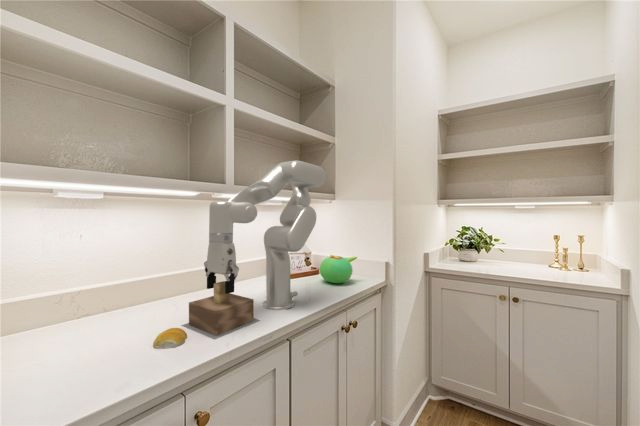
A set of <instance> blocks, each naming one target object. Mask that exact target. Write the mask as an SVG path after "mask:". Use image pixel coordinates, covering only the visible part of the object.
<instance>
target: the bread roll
mask: <svg viewBox="0 0 640 426" xmlns="http://www.w3.org/2000/svg"><path fill="white" fill-rule="evenodd" d="M187 338H188V335H187V332H186V330H184V329H183V328H180V327H171V328H168V329H166V330H164V331H162V332H161V333H159V334H157V336H156V337H155V339H154V340H153V344H152V346H153V348H154V349H156V350H163V349H164V350H165V349H172V348H173V349H174V348H176V347H177V348H178V347H179V346H182V345H183V344H184V343H185V341H186V340H187Z"/></svg>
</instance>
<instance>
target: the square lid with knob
mask: <svg viewBox="0 0 640 426" xmlns="http://www.w3.org/2000/svg"><path fill="white" fill-rule="evenodd" d="M225 281H226V280H222V281H219V282H216V283H214V288H213V295H212V296H207V297H204V298H200V299H197V300H194V301H190V302H189V301H188V323H189V325H190V326H193V327H195V328H198V329H200V330H203V331H205V332H208V333H210V334H212V335H215V336H217V335H220V334H222V333H225V332H227V331H230V330H232V329H235V328H237V327H240V326H242V325H245V324H247V323H250V322H252V321H254V314H255V313H254V304H255V303H254V298H249V297H246V296H241V295H237V294H235V293H228V294H225Z"/></svg>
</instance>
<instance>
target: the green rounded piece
mask: <svg viewBox="0 0 640 426" xmlns="http://www.w3.org/2000/svg"><path fill="white" fill-rule="evenodd" d="M329 255H330V256H328V257H326V258H324V259H323V260H322V261H321V263H320V264H319V273H320V275H321V277H322V278H323V279H324V280H325V281H326V282H328V283H332V284H343V283H346V282H347V281H348V280H349V279H351V277H352V275H353V266H352V264H351V262H353V261H355V260H356V259H358V256H351V257H343V256H338V255H333V254H329Z"/></svg>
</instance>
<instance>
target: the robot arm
mask: <svg viewBox="0 0 640 426" xmlns="http://www.w3.org/2000/svg"><path fill="white" fill-rule="evenodd" d="M326 177H327V176H326V171H325V170H324V169H323V168H322V167H321V166H319V165H316V164H312V163H310V162H305V161H302V160H289V161H283V162H282V161H281V162H279V163H277V164H276V165H275V166H274V167H273V168H271V169H270V170H269V171H268V172H267V173H266V174H265V175H263V176H262V177H261V178H260V179H259V180H258V181H255V182H254V183H252V184H250V185H249V186H247V187H245V188H244V189H242V190H240V191H239V192H237V193H236V194H234V195H233V196H232V197H231V198H229V200H227V201H223V200H222V201H220V200H217V201H212V202H210V204H209V217H208V218H209V219H208V220H209V222H208V224H209V225H208V226H209V227H208V247H207V255H206V257H207V258H206V261H204V262H203V266H204V272H205V277H206V290H211V289H214V283H217V275H216V274H219V275H224V278H225V280H224V281H225V294H228V293H231V294H233V293H234V292H235V281H236V278H237V277H238V274H239V270H240V267H239V266H238V265H237V255H236V254H237V253H236V247H235V243H234V224H250V223H252V222H254V221H255V220H256V218H257V216H258V208H257V207H256V206H255V205H257V204H261V203H265V202H267V201H270V200H272V199H274V198H275V197H276V196H277V195H278V194H279V193H280V192H281V191H282V190H283V189H284V188H285V187H286V186H287V185H288V184H290V185H291V188H292V194H291V197H290V198H289V200H288V202H287V204H286V205H285V207H284V208H283V210H282V211H281V213H280V215H279V223H280V225H274V226H270V227H269V228H267V229H266V231H264V235H263V244H264V245H263V246H264V251H265V257H266V258H265V259H266V260H265V262H266V263H265V264H266V267H265V268H266V273H265V274H266V276H265V278H266V280H265V281H266V283H265V284H266V285H265V287H266V292H265V293H266V299H265V300H264V301H263V302H262V303H261V304H262V307H263V308H264V309H267V310H270V311H271V310H274V311H280V310H289V309H291V308H293V307H294V306H295V301H294V300H293V298H294V297H296V296H298V294H299V293H298V292H297V291H295V290H294V291H291V258H290V254H289V253H290V252H291V253H297V252H298V251H300V250H301V249H303V247H304V246H305V245H306V242H307V241H308V239H309V237H310V236H311V234H312V231H313V229H314V228H315V226H316V224H317V212H316V210H315V209H314V208H313V207H312V206H310V204H311V196H310V193H309V189H308V188H317V187H321V186H323V185H324V184H325V181H326Z"/></svg>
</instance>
